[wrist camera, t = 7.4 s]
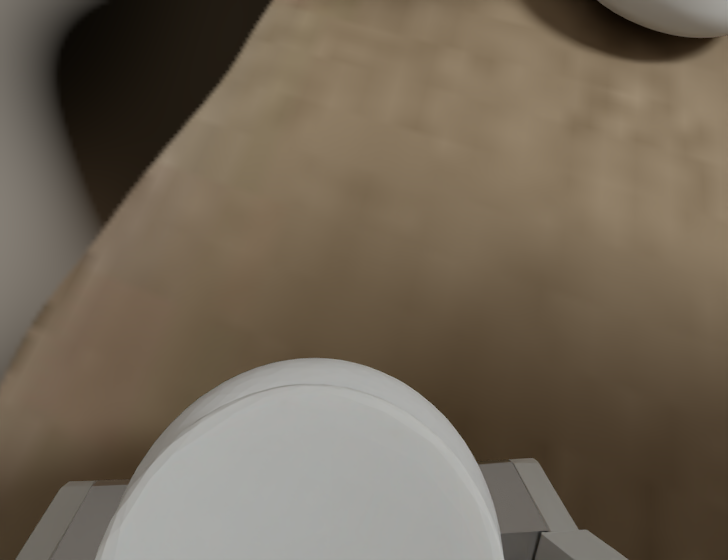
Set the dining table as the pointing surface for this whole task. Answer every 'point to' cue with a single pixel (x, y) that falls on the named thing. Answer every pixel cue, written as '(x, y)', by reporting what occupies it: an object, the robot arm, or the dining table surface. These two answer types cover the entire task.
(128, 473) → the dining table surface
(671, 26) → the flower in vase
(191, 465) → the supplement bottle
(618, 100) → the dining table surface
